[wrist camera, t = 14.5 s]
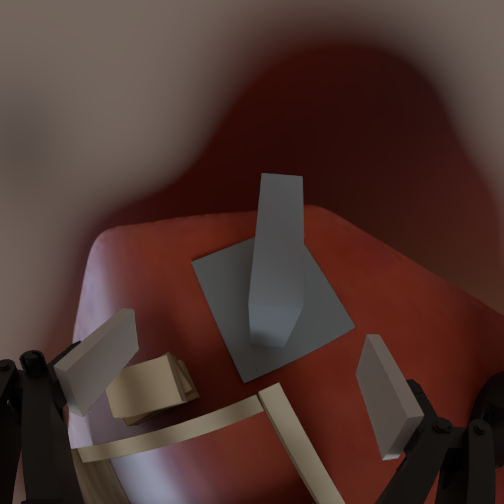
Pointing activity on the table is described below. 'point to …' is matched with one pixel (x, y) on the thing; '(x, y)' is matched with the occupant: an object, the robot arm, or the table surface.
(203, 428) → the rack
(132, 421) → the offcut
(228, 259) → the mat
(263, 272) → the grey rectangular block
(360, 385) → the robot arm
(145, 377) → the offcut
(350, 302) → the table surface
